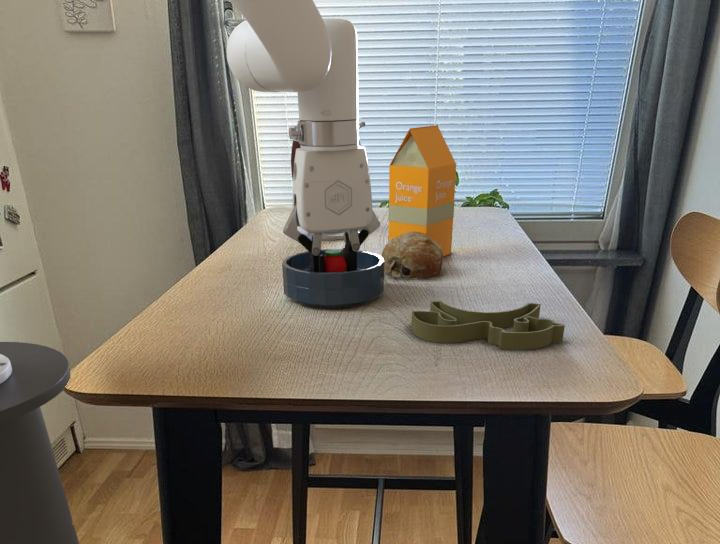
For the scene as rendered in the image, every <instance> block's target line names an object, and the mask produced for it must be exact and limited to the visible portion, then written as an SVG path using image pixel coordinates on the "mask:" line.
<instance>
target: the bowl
mask: <svg viewBox="0 0 720 544" xmlns="http://www.w3.org/2000/svg"><path fill="white" fill-rule="evenodd" d="M327 250H341V251H342V250H343V248H335V249H334V248H333V249H329V248H328V249H321V254H322V255H324V256H325V251H327ZM281 270H282V271H281V272H282V284H283V294H284V295H285V296H286V297H287V298H288V299H290V300H292V301H295V302H297V303H298V304H301V305H303V306H307V307H313V308H320V309H321V308H322V309H342V308H343V309H344V308H350V307H351V308H352V307H356V306H361V305H364V304H366V303H369V302H371V301H372V300H374V299H376V298H379V297H380V296H382V294H383V293H384V292H385V272H384V260H383V257H382V255H379V254H377V253H373V252H370V251H365V250H358V251H357V271H348V272H329V273H325V272H311V270H310V252H309V251H308V250H307V251H302V252H297V253H294V254H291V255H288V256H287V257H285V258H284V259H282V262H281Z"/></svg>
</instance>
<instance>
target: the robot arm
mask: <svg viewBox="0 0 720 544" xmlns="http://www.w3.org/2000/svg"><path fill="white" fill-rule="evenodd" d="M228 1H229V2H230V4H232V6H233V7H234V8H235V9H236V10H237V11H238V12H239V13H240V14H241V16H242V17H243V18H244V19H245V20H243V21H241V22H240V23H239V24H238V25H236V27H234V28H233V30H232V31H231V33H230V35H229V37H228V39H227V42H226V51H225V52H226V61H227V64H228V67H229V70H230V72H231V73H232V75H233V76H234V78H235V79H236V80H237V81H238V82H239V83H240V84H242V86H244V87H246V88H247V89H250V90H252V91H256V92H259V93H297V105H298V106H297V107H298V120H297V123H296V125H295V126H293V127H289V128H288V138H289V139H290V140H293V139H296V140H298V141H299V144H301V148H298V149H296V153H295V161H294V173H293V179H292V210H291V212H290V213H289V216H288V219H287V220H286V222H285V225H284V227H283V229H282V233H283V234H284V235H285V236H287V237H288V238H290V239H292V240H294V241H295V242H298V243H299V244H300V245H301V246H302V247H303V248H305V250H307V251H309V252H310V270H311V272H325V260H324V255H322V254H321V250H322V249H321V247H322V233H325V232H336V231H343V233H344V239H343V240H344V247H342V249H343V250H342V256H343V257H344V258H345V260H346V262H347V272H348V271H357V251H360V249H361V246H362V244H363V243H364V242H365V241H366V240H367V239H368V237H369V236H370V235H372V234H373V233H374V232H375V231H377V230H378V229H379V228H380V227H381V223H380V222H381V221H380V220H379V218H378V216H377V215H376V213H375V211H374V210H373V196H372V195H373V194H372V184H371V175H370V167H369V161H368V156H367V150H366V146H362V147H360V146H359V137H360V136H359V130H358V124H359V74H358V73H359V69H358V67H359V66H358V62H359V61H358V60H359V59H358V34H357V33H358V32H357V29H356V26H355V25H354V23H353V22H352V21H350V20H347V19H343V18H323V17H322V15H321V13H320V11H319V9H318V6H317V5H316V3H315V1H314V0H228ZM298 228H300V229H301V228H303V230H305V231H307V232H308V233H307V236H305V235H304V234H302V233H301V232H299V229H298ZM11 373H12V367H11V363H10V360H9V359H8V358H7V357H5V356H4V355H2V354H0V384H1V383H2V382H4V381H5V380H6V379H7V378H8V377H9V376H10V375H11Z"/></svg>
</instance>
